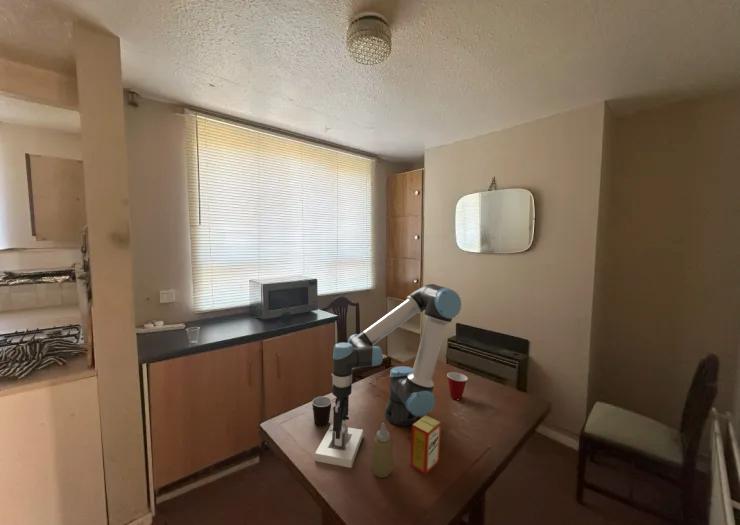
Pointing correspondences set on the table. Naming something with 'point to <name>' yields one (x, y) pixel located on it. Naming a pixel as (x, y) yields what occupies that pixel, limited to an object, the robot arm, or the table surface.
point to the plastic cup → (456, 384)
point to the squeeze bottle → (382, 453)
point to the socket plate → (339, 455)
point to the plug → (344, 437)
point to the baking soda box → (425, 444)
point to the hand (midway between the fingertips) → (340, 440)
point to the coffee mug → (321, 411)
